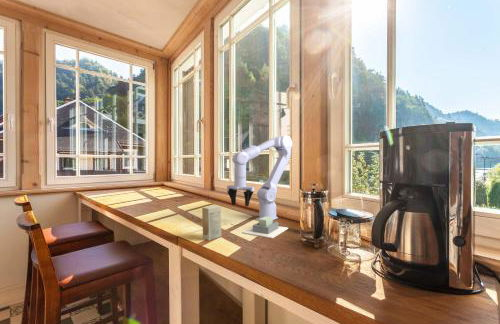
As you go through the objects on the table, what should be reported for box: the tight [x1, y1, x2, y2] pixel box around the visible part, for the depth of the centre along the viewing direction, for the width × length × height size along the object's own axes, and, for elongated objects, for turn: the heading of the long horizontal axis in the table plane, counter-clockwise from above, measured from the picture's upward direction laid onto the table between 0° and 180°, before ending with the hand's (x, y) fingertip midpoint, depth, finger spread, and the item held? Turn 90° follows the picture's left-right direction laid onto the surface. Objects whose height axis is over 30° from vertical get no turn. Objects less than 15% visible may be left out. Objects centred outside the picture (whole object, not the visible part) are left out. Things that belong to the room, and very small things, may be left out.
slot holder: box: [241, 221, 289, 239], centre depth 108 cm, size 16×14×3 cm
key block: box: [258, 216, 274, 226], centre depth 108 cm, size 4×6×5 cm, turn 149°
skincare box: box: [201, 204, 222, 241], centre depth 99 cm, size 6×4×12 cm
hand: (240, 205), depth 122 cm, fingers open, 7 cm apart
